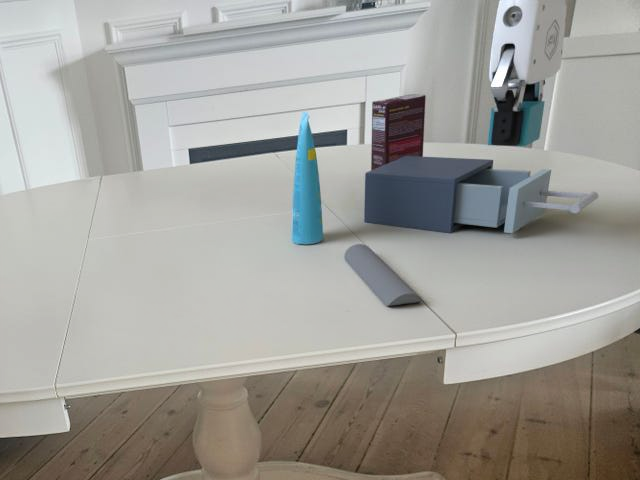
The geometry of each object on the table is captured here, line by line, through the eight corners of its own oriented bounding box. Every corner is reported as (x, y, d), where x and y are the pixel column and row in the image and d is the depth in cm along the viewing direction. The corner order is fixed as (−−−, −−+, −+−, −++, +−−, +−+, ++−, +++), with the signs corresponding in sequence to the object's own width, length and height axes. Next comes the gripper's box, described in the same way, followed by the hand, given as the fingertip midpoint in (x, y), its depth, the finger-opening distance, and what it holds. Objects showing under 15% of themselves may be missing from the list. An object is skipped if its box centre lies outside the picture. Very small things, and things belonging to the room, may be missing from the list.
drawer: (599, 217, 90) (607, 172, 87) (568, 240, 84) (577, 193, 81) (456, 203, 104) (459, 164, 102) (421, 222, 98) (424, 181, 95)
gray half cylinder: (372, 253, 91) (372, 242, 91) (425, 305, 74) (426, 291, 73) (342, 257, 92) (342, 245, 91) (388, 310, 74) (389, 296, 73)
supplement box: (406, 178, 126) (410, 93, 119) (422, 182, 122) (427, 94, 115) (368, 186, 124) (370, 100, 117) (383, 191, 120) (386, 102, 113)
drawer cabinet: (487, 211, 102) (493, 159, 98) (450, 233, 95) (455, 178, 91) (403, 202, 112) (405, 155, 108) (364, 222, 105) (365, 172, 101)
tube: (327, 245, 97) (327, 113, 88) (296, 249, 97) (292, 118, 88) (317, 231, 104) (316, 107, 95) (288, 235, 104) (283, 112, 95)
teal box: (539, 138, 80) (544, 100, 78) (525, 146, 77) (530, 107, 75) (502, 138, 83) (506, 101, 81) (487, 145, 80) (491, 107, 78)
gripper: (541, -28, 64) (517, 156, 73) (597, -36, 74) (571, 128, 82) (467, -17, 69) (453, 154, 78) (528, -26, 79) (510, 127, 87)
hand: (513, 139), depth 80 cm, fingers closed on teal box, 4 cm apart
